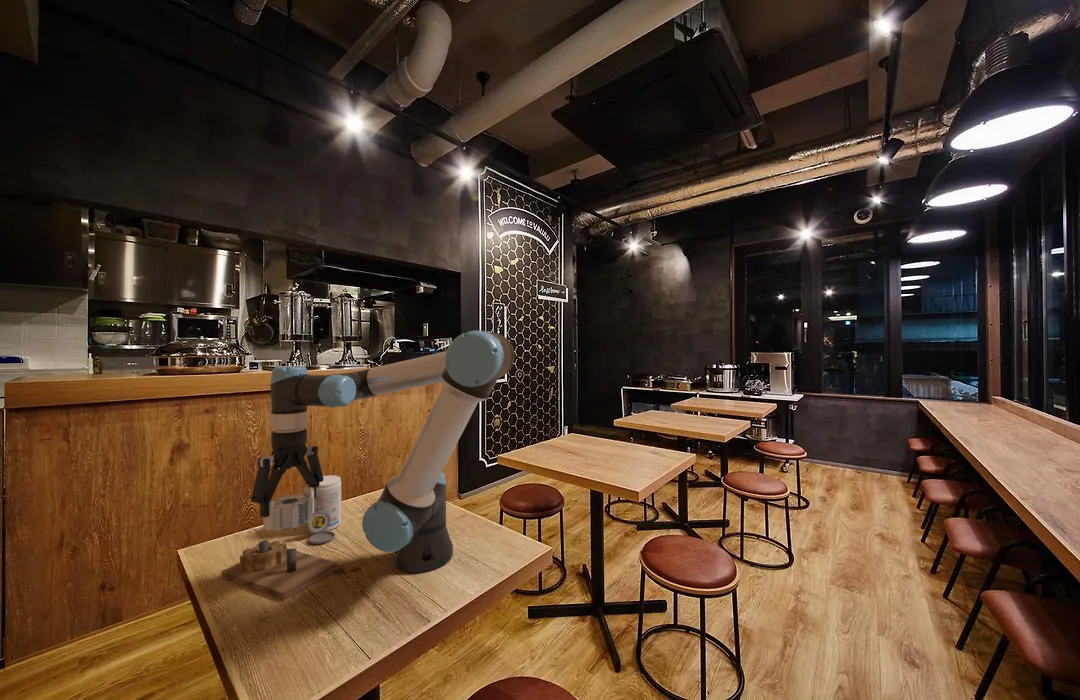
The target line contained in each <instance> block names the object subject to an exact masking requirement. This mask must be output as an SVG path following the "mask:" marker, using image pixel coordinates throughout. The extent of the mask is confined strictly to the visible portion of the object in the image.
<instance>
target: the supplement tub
mask: <svg viewBox="0 0 1080 700" xmlns="http://www.w3.org/2000/svg"><path fill="white" fill-rule="evenodd" d="M323 478H324V480H323V481H322V482H319V483H320V485H319V486H318V487H316V498H315V499H314V504H315V503H316V504H315V505H314V507H315V508H314V512H315V511H317V509H316V507H317V506H318V505H319V506H321V505H322V504H323V505H322V506H321V507H320V509H319V510H324V511H326V512H328V513H329V515H330V524H329V526H328V527H327V528H326V529H325V530H324V531H323V532H330V531H333V530H334V529H336V528H338V527H339V526H340V525H341V524H342V520H343V519H342V517H343V516H342V515H343V514H342V512H343V510H342V509H343V508H342V480H341V476H339V475H323ZM306 486H308V485H307V484H306ZM317 502H321V503H322V504H321V503H317ZM323 518H324V517H323ZM323 518H321V519H323ZM323 520H324V519H323ZM322 523H324V521H322ZM317 524H318V523H317ZM317 524H315V525H316V526H315V527H313V528H318V527H320V526H317ZM312 526H313V525H312Z"/></svg>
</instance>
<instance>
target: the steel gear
mask: <svg viewBox="0 0 1080 700" xmlns="http://www.w3.org/2000/svg"><path fill="white" fill-rule="evenodd" d="M271 501H273V502H274V530H273V531H279V532H280V531H281V530H283V529H284V530H285V529H296V528H299V526H301V525H303V524H306V523H309V522H310V521H311V517H313V497H312V496H311V495H310V496H304V493H297V494H294V495H288V494H286V495H282V496H281V497H279V498H277V499H271Z"/></svg>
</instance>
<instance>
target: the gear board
mask: <svg viewBox="0 0 1080 700" xmlns="http://www.w3.org/2000/svg"><path fill="white" fill-rule="evenodd" d="M287 547H288V546H287V543H286V542H282V543H281V542H280V540H272V542H269V540H265V539H264V540H262V541H260V542H258V543H257V544H256V545H255V546H253V547H251V548H246V549H244V550H243V551H242V554H240V555H239V563H237V564H234V565H233V566H230V567H228V568H226V569H223V570H221V578H222V579H225V580H228V581H232V582H234V583H236V584H239V585H242V586H244V587H247V588H250V589H252V590H255V591H258V592H261V593H264V594H267V595H269V596H272V597H275V598H278V599H281V600H282V601H286V600H287V599H289V598H291V597H293V596H295V594H296V595H297V594H298V593H300V592H301V591H303V590H305V589H307V588H308V587H310V586H311V585H313V584H315V583H317V582H318V581H320V580H322V579H323V578H325V577H326V576H328V575H330V574H331V573H333V572H335V571H337V570H339V562H336V561H333V560H329V559H325V558H322V557H319V556H315V555H311V554H307V553H305V552H301V551H297V548H296V547H294V548H287Z"/></svg>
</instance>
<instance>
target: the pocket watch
mask: <svg viewBox="0 0 1080 700" xmlns="http://www.w3.org/2000/svg"><path fill="white" fill-rule="evenodd" d="M317 503H321V502H317ZM315 504H316V503H315ZM315 504H314V505H315ZM321 504H322V503H321ZM322 505H323V504H322ZM322 505H321V506H322ZM321 506H319V505H318V506H317V507H316V509H317V511H315V512H314V513H313V517H311V521H310V522H309V523H305V529H306V531H307V532H308V533H310V534H311V536H310V537H309V539H308V542H309V543H310V544H312V545H320V544H326V543H328V542H331V541H333V540H334V539H335V536H336V534H335V532H333V531H325V532H323V531H324V530H325V529H326V528H327V527H328V526H329V524H330V515H329V513H328V512H326V511H324V510H319V509H320V507H321ZM314 508H315V507H314ZM323 517H324V518H323ZM321 518H323V519H324V520H323V519H321ZM322 521H324V523H322ZM317 523H318V524H317ZM315 524H317V526H320V527H318V528H313V527H315V526H316V525H315ZM312 525H313V526H312Z"/></svg>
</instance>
